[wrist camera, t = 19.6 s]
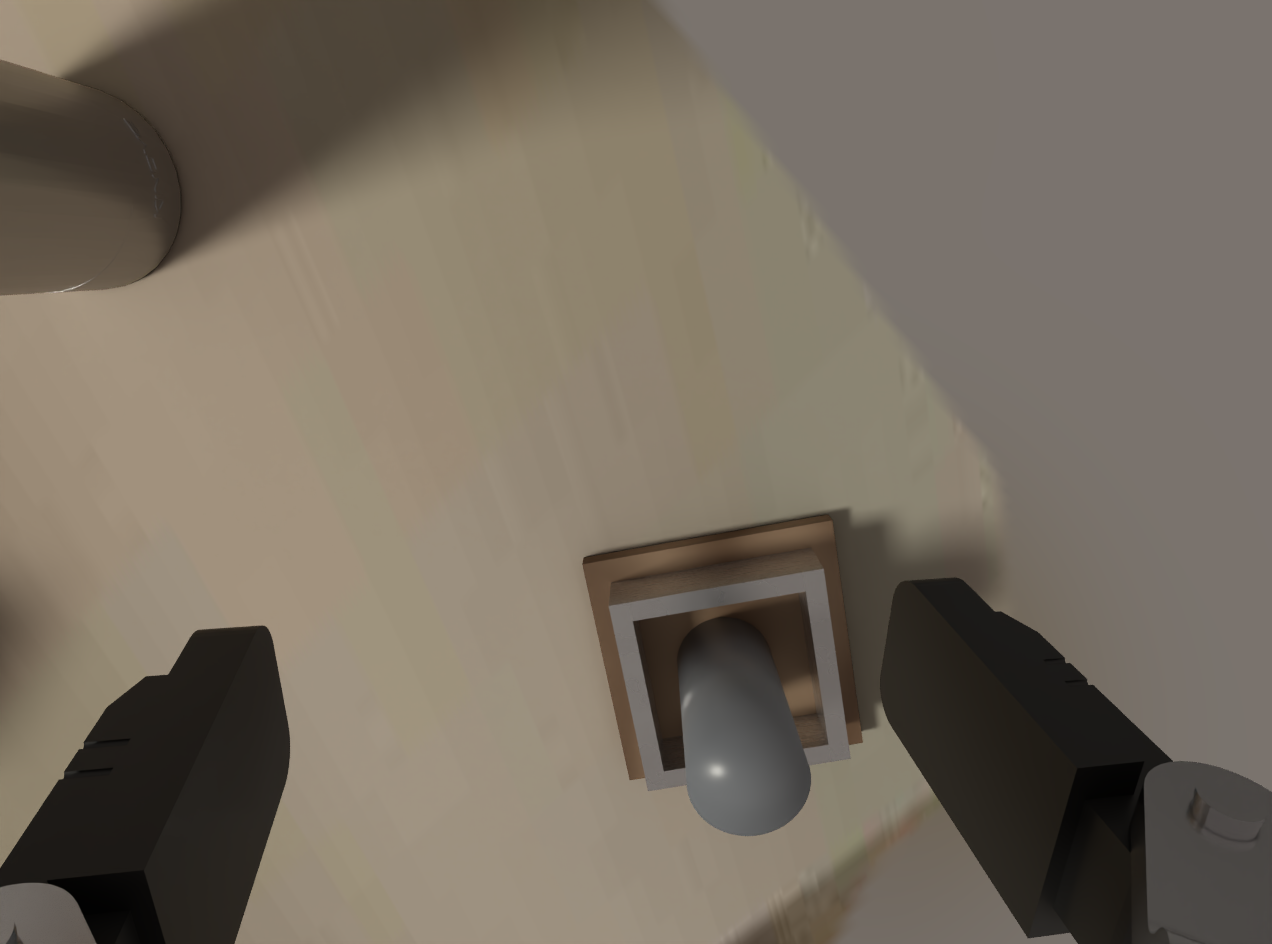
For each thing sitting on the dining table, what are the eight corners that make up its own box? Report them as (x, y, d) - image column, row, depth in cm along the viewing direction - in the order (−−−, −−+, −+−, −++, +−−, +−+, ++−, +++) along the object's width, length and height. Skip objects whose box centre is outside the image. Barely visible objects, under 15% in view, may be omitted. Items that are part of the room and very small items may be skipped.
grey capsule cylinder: (689, 713, 45) (702, 847, 34) (667, 629, 44) (673, 740, 33) (780, 692, 45) (822, 820, 34) (759, 607, 43) (796, 712, 33)
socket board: (630, 769, 47) (629, 780, 46) (583, 557, 44) (582, 564, 43) (858, 732, 46) (862, 742, 45) (828, 514, 43) (832, 520, 42)
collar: (647, 757, 46) (648, 791, 43) (610, 582, 43) (608, 606, 40) (837, 726, 45) (850, 758, 42) (811, 547, 43) (823, 568, 40)
